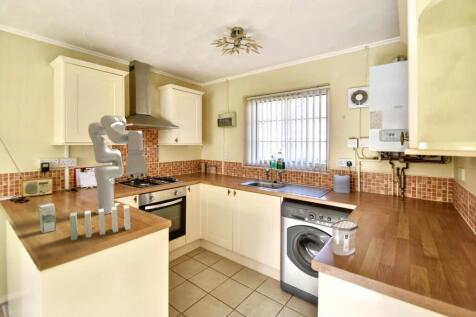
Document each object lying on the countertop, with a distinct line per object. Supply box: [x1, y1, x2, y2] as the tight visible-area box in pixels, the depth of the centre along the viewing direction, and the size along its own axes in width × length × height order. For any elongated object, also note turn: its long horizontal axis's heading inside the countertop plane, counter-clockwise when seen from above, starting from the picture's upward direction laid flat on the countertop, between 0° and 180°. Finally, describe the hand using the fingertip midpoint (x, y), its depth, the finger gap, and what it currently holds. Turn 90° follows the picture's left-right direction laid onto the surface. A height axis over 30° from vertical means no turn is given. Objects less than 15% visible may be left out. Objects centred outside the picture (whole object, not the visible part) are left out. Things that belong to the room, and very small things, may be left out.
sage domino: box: [69, 211, 79, 241], centre depth 115 cm, size 2×6×12 cm, turn 31°
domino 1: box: [84, 209, 93, 239], centre depth 118 cm, size 2×6×12 cm, turn 32°
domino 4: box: [123, 204, 131, 231], centre depth 127 cm, size 2×6×12 cm, turn 32°
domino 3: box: [111, 206, 119, 233], centre depth 124 cm, size 2×6×12 cm, turn 32°
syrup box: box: [38, 202, 57, 234], centre depth 123 cm, size 6×6×14 cm
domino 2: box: [97, 208, 106, 236], centre depth 121 cm, size 2×6×12 cm, turn 32°
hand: (137, 185), depth 129 cm, fingers closed
